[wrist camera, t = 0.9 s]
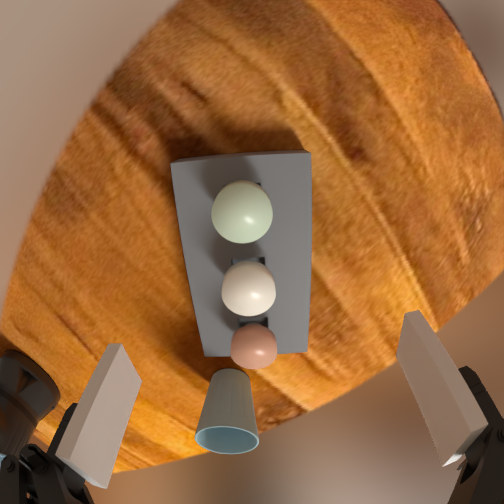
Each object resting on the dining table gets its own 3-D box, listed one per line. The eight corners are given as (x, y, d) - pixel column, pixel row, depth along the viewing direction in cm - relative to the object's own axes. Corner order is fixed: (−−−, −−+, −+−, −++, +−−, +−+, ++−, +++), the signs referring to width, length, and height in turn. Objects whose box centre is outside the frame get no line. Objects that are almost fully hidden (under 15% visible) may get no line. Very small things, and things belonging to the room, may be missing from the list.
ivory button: (227, 293, 30) (224, 317, 26) (222, 251, 28) (218, 272, 24) (273, 290, 30) (276, 314, 26) (271, 248, 28) (275, 268, 24)
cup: (193, 369, 38) (182, 431, 29) (244, 356, 37) (242, 421, 28) (218, 399, 41) (213, 456, 32) (265, 388, 40) (268, 448, 31)
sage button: (219, 227, 27) (214, 245, 23) (214, 177, 25) (208, 187, 21) (270, 224, 27) (274, 241, 23) (268, 173, 25) (271, 182, 21)
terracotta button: (234, 344, 33) (233, 369, 29) (230, 312, 31) (227, 337, 27) (275, 342, 32) (277, 367, 29) (274, 310, 31) (276, 334, 27)
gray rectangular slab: (207, 340, 36) (204, 356, 33) (178, 159, 27) (170, 163, 24) (303, 335, 36) (307, 351, 33) (304, 149, 26) (310, 153, 24)
